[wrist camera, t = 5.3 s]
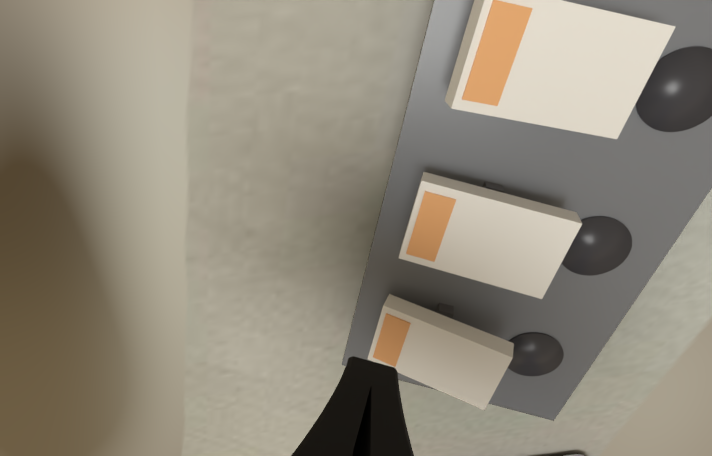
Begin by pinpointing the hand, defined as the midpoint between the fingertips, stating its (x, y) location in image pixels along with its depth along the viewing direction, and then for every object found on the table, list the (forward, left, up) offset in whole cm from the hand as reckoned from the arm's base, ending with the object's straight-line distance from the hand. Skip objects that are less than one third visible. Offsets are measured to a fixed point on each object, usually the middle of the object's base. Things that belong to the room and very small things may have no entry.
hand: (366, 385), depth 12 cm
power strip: (+3, -7, -8) cm, 11 cm away
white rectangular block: (-3, -1, -4) cm, 6 cm away
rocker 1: (+5, -7, -4) cm, 10 cm away
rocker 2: (+1, -4, -4) cm, 6 cm away
